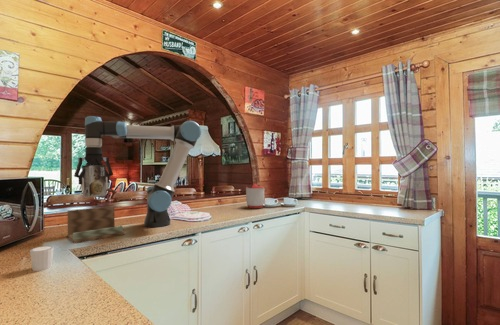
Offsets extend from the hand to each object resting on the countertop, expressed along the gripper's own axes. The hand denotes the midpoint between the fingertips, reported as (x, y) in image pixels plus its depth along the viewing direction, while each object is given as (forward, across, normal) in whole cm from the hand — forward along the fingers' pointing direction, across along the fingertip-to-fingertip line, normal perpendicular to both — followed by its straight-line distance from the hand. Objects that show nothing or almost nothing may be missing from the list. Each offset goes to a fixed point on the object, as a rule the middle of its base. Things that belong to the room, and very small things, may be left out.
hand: (94, 190), depth 143 cm
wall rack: (+23, 0, 0) cm, 23 cm away
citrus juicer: (+25, -119, -4) cm, 122 cm away
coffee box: (+3, 0, 0) cm, 3 cm away
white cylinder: (+23, +27, +36) cm, 50 cm away
